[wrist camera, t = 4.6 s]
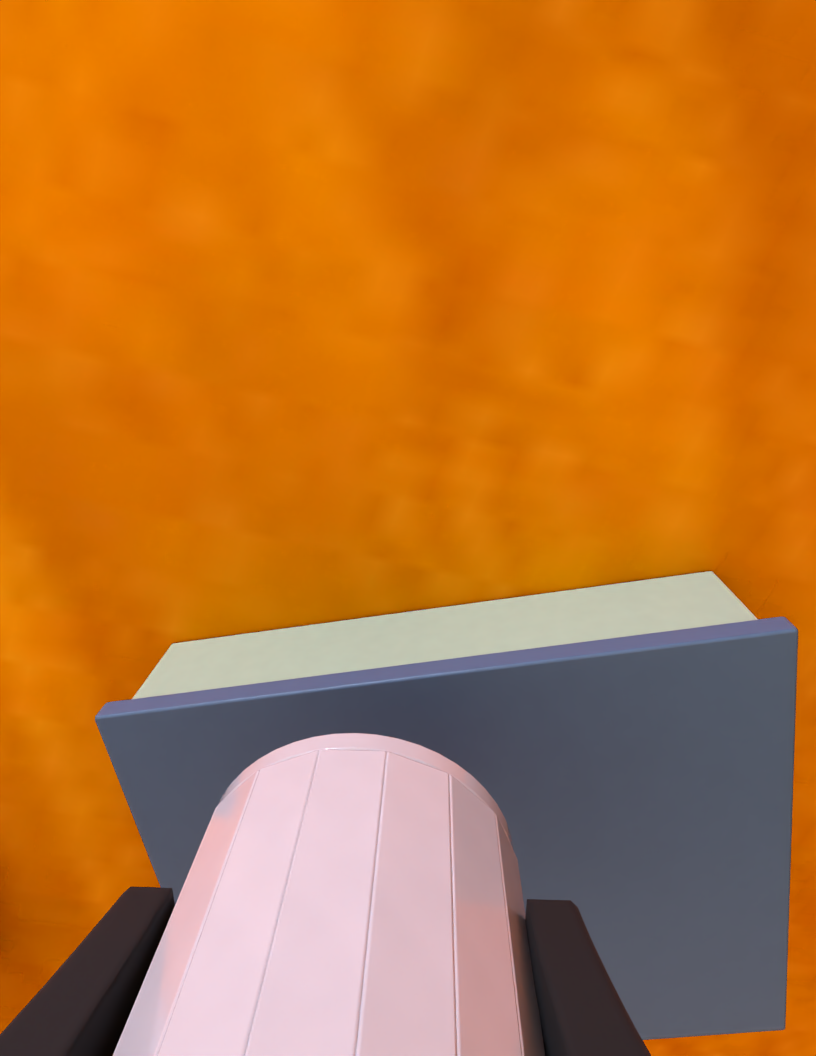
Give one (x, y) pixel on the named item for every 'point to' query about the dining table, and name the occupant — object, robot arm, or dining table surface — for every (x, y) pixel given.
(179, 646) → the blue hardcover book
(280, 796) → the white cylindrical tumbler
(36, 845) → the dining table surface
